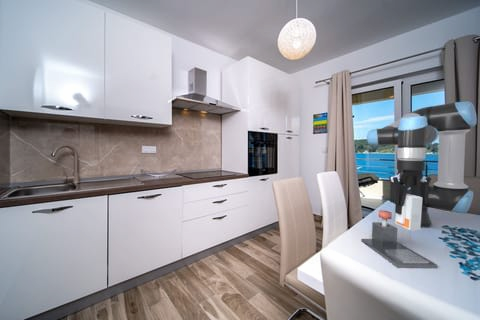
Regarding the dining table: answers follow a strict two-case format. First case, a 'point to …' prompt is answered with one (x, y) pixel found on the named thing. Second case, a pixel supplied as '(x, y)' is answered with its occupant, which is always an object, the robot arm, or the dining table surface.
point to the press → (394, 248)
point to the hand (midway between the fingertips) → (407, 222)
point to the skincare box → (412, 212)
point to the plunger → (384, 216)
